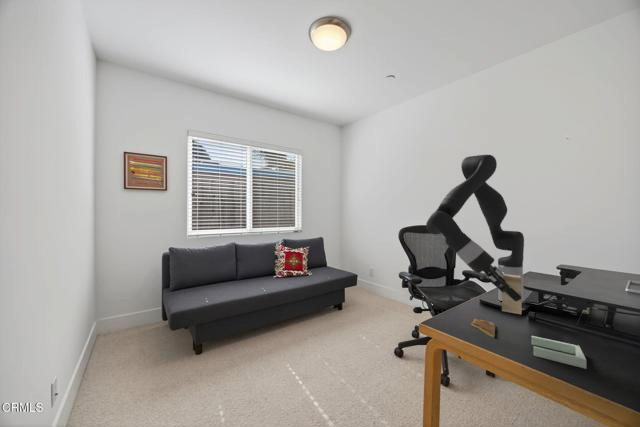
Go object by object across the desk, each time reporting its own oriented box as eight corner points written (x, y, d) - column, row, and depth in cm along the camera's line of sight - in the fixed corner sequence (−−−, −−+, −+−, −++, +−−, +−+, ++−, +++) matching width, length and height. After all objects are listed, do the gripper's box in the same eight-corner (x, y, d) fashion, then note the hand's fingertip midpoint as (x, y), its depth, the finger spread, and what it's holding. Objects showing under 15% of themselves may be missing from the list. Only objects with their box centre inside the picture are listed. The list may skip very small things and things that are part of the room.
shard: (494, 339, 86) (494, 334, 86) (468, 333, 90) (468, 328, 90) (495, 327, 95) (495, 322, 95) (471, 322, 99) (471, 317, 99)
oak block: (502, 305, 86) (501, 273, 85) (520, 309, 83) (520, 275, 82) (501, 310, 82) (501, 277, 81) (521, 314, 79) (521, 279, 78)
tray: (531, 343, 82) (531, 335, 82) (579, 353, 76) (579, 345, 76) (533, 355, 76) (533, 347, 75) (586, 368, 69) (586, 359, 69)
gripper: (481, 252, 80) (531, 297, 74) (484, 246, 92) (527, 284, 85) (463, 267, 84) (508, 311, 77) (468, 259, 95) (508, 296, 88)
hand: (518, 296), depth 81 cm, fingers closed on oak block, 5 cm apart
